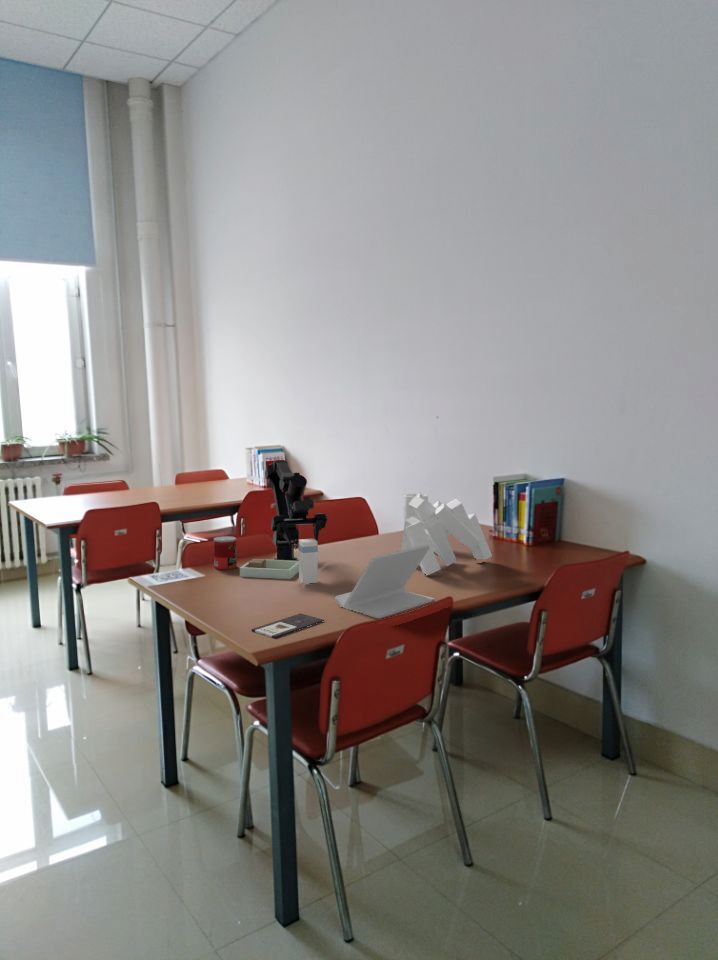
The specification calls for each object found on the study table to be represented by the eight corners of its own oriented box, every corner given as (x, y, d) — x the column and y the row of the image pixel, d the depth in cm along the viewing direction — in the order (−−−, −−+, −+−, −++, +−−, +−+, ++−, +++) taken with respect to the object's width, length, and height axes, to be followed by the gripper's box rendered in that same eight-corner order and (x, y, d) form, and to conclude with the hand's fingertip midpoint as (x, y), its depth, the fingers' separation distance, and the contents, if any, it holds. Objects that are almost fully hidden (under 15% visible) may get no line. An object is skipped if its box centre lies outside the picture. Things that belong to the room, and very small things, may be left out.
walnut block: (253, 570, 249) (253, 558, 248) (265, 570, 248) (265, 559, 247) (248, 573, 244) (248, 562, 243) (261, 574, 243) (261, 562, 243)
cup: (399, 545, 292) (399, 493, 290) (423, 544, 295) (424, 493, 292) (407, 551, 282) (407, 497, 280) (431, 549, 285) (432, 496, 282)
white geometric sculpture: (449, 567, 278) (407, 488, 275) (512, 547, 259) (468, 463, 256) (405, 612, 252) (358, 526, 249) (472, 594, 233) (423, 500, 230)
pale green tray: (253, 568, 253) (253, 558, 253) (301, 570, 250) (301, 561, 249) (239, 577, 240) (239, 567, 240) (290, 580, 237) (289, 570, 236)
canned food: (232, 571, 249) (231, 540, 247) (210, 570, 250) (209, 539, 249) (240, 566, 256) (239, 536, 255) (219, 565, 258) (218, 535, 256)
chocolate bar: (324, 619, 193) (275, 636, 179) (324, 623, 193) (275, 640, 180) (300, 613, 199) (251, 629, 185) (300, 616, 199) (251, 632, 185)
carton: (299, 580, 236) (298, 539, 235) (313, 579, 238) (313, 538, 236) (302, 584, 231) (302, 542, 230) (317, 583, 233) (317, 541, 231)
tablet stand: (435, 601, 214) (436, 545, 212) (379, 619, 196) (379, 558, 194) (390, 589, 226) (390, 537, 224) (333, 606, 208) (333, 549, 207)
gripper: (272, 492, 239) (279, 530, 230) (325, 490, 245) (335, 526, 236) (267, 512, 247) (275, 549, 238) (319, 509, 253) (328, 545, 244)
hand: (303, 542), depth 239 cm, fingers open, 9 cm apart
